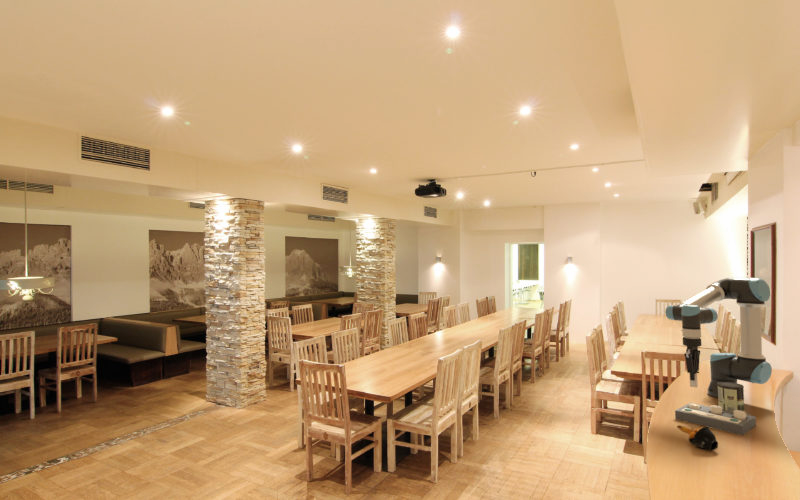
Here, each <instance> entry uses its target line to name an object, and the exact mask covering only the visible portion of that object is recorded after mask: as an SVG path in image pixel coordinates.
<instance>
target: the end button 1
mask: <svg viewBox="0 0 800 500" xmlns="http://www.w3.org/2000/svg"><path fill="white" fill-rule="evenodd" d="M688 404H689V403H688ZM700 405H701V404H699V405H698V403H694V404H689V408H692V409H697V410H699V409H700Z"/></svg>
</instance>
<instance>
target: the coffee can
mask: <svg viewBox="0 0 800 500" xmlns="http://www.w3.org/2000/svg"><path fill="white" fill-rule="evenodd" d="M717 385H718V398H717V399H718V406H720V407H722V410H727V411H732V412H734V410H740V411H744V412H745V395H744V385H743V384H740V383H738V382H737V383H732V382H718V383H717Z"/></svg>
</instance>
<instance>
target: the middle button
mask: <svg viewBox="0 0 800 500" xmlns="http://www.w3.org/2000/svg"><path fill="white" fill-rule="evenodd" d="M709 407H710V409H711V413H715V414H719V415H721V414H722V407H720V406H719V405H714V404H712V405H709Z"/></svg>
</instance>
